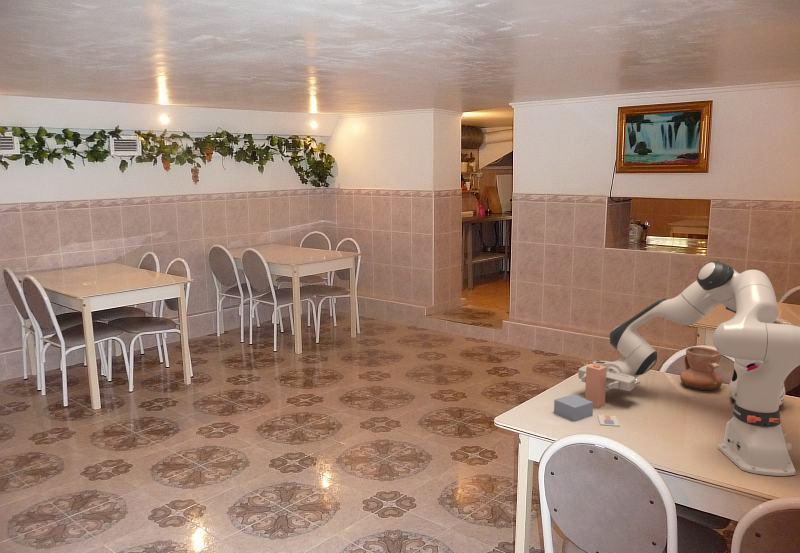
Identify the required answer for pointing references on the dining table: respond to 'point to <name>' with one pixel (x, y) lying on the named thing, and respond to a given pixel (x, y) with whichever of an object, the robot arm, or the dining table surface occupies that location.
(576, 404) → the base brick
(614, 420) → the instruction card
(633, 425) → the dining table surface
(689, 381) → the ceramic jug
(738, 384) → the robot arm
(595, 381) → the coral brick
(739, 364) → the milk container
